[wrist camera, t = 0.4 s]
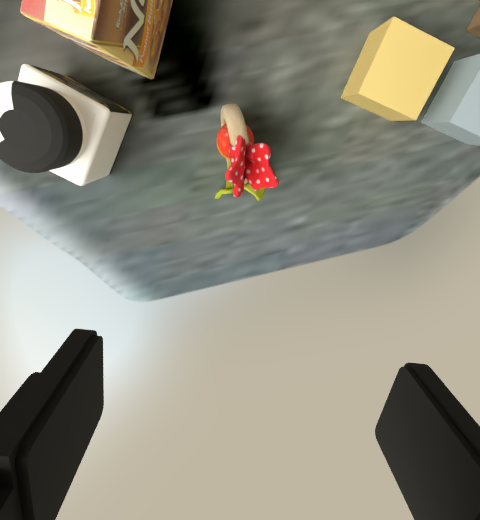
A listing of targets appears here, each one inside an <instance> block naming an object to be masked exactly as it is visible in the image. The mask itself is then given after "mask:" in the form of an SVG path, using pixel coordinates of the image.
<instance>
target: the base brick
mask: <svg viewBox="0 0 480 520" xmlns="http://www.w3.org/2000/svg"><path fill="white" fill-rule="evenodd" d="M466 31H467V32H469V33H471V34H473V35H475V36H477V37H478V38H480V5H479V7H478V9H477V11H476V13H475V14H474V16H473V18H472V20H471V22H470V24H469V25H468V27H467V29H466Z"/></svg>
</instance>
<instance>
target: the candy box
mask: <svg viewBox="0 0 480 520" xmlns="http://www.w3.org/2000/svg"><path fill="white" fill-rule="evenodd" d="M172 2H173V0H22V4H21V8H20V12H21V13H22V14H23V15H25V16H26V17H28V18H30V19H32V20H33V21H35V22H36V23H39V24H41V25H43V26H45V27H47V28H49V29H51V30H53V31H55V32H57V33H59V34H60V35H62V36H64V37H66V38H67V39H69V40H71V41H73V42H75V43H77V44H78V45H80V46H82V47H84V48H86V49H88V50H90V51H92V52H93V53H95V54H97V55H99V56H101V57H103V58H105V59H107V60H109V61H110V62H112V63H114V64H117V65H119V66H121V67H123V68H126V69H128V70H130V71H133V72H135V73H137V74H140V75H142V76H145V77H147V78H150V79H154V76H155V72H156V69H157V65H158V61H159V57H160V53H161V49H162V44H163V40H164V36H165V32H166V27H167V23H168V19H169V15H170V10H171V6H172Z"/></svg>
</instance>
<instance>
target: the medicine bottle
mask: <svg viewBox="0 0 480 520" xmlns="http://www.w3.org/2000/svg"><path fill="white" fill-rule="evenodd" d="M131 117H132V114H131V112H130V111H129V110H127V109H125V108H123V107H121V106H120V105H118V104H116V103H114V102H112V101H111V100H109V99H107V98H105V97H103V96H102V95H100V94H98V93H96V92H94V91H93V90H91V89H89V88H87V87H85V86H84V85H82V84H80V83H78V82H76V81H74V80H73V79H71V78H69V77H67V76H65V75H61V74H58V73H55V72H52V71H48V70H45V69H42V68H39V67H35V66H32V65H29V64H23V65H22V66H21V70H20V74H19V78H18V81H7V82H3V83H0V159H1V160H2V161H3V162H5V163H6V164H7V165H9V166H11V167H13V168H15V169H17V170H20V171H23V172H29V173H40V172H45V171H51V172H53V173H55V174H57V175H59V176H61V177H63V178H65V179H67V180H69V181H71V182H73V183H75V184H77V185H80V186H83V185H85V184H88V183H90V182H93V181H95V180H98V179H100V178H103V177H105V176H108V175H109V174H110V171H111V168H112V166H113V163H114V161H115V158H116V155H117V153H118V150H119V148H120V145H121V143H122V140H123V137H124V135H125V132H126V130H127V127H128V124H129V122H130V119H131Z"/></svg>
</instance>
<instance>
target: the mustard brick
mask: <svg viewBox="0 0 480 520" xmlns="http://www.w3.org/2000/svg"><path fill="white" fill-rule="evenodd" d="M454 49H455V48H454V47H452V46H450V45H448V44H446V43H444V42H442V41H440V40H438V39H436V38H435V37H433V36H431V35H429V34H427V33H425V32H423V31H421V30H419V29H417V28H415V27H413V26H411V25H409V24H408V23H406V22H404V21H402V20H400V19H398V18H396V17H392V18H391V19H389V20H388V21H386V22H385V23H383V24H382V25H380V26H379V27H377V28H376V29H374V30H373V31H371V32H370V33H369V36H368V38H367V40H366V42H365V45H364V47H363V49H362V51H361V53H360V56H359V58H358V60H357V62H356V65H355V67H354V69H353V71H352V74H351V76H350V78H349V80H348V82H347V85H346V87H345V89H344V91H343V94H342V96H341V98H342V99H344V100H346V101H348V102H351V103H353V104H355V105H357V106H359V107H362V108H364V109H366V110H368V111H370V112H373V113H375V114H377V115H379V116H381V117H383V118H386V119H388V120H390V121H408V120H416V119H417V117H418V116H419V114H420V112H421V110H422V108H423V106H424V104H425V103H426V101H427V99H428V97H429V95H430V93H431V91H432V90H433V88H434V86H435V84H436V82H437V80H438V78H439V76H440V75H441V73H442V71H443V69H444V67H445V65H446V63H447V62H448V60H449V58H450V56H451V54H452V52H453V50H454Z"/></svg>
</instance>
